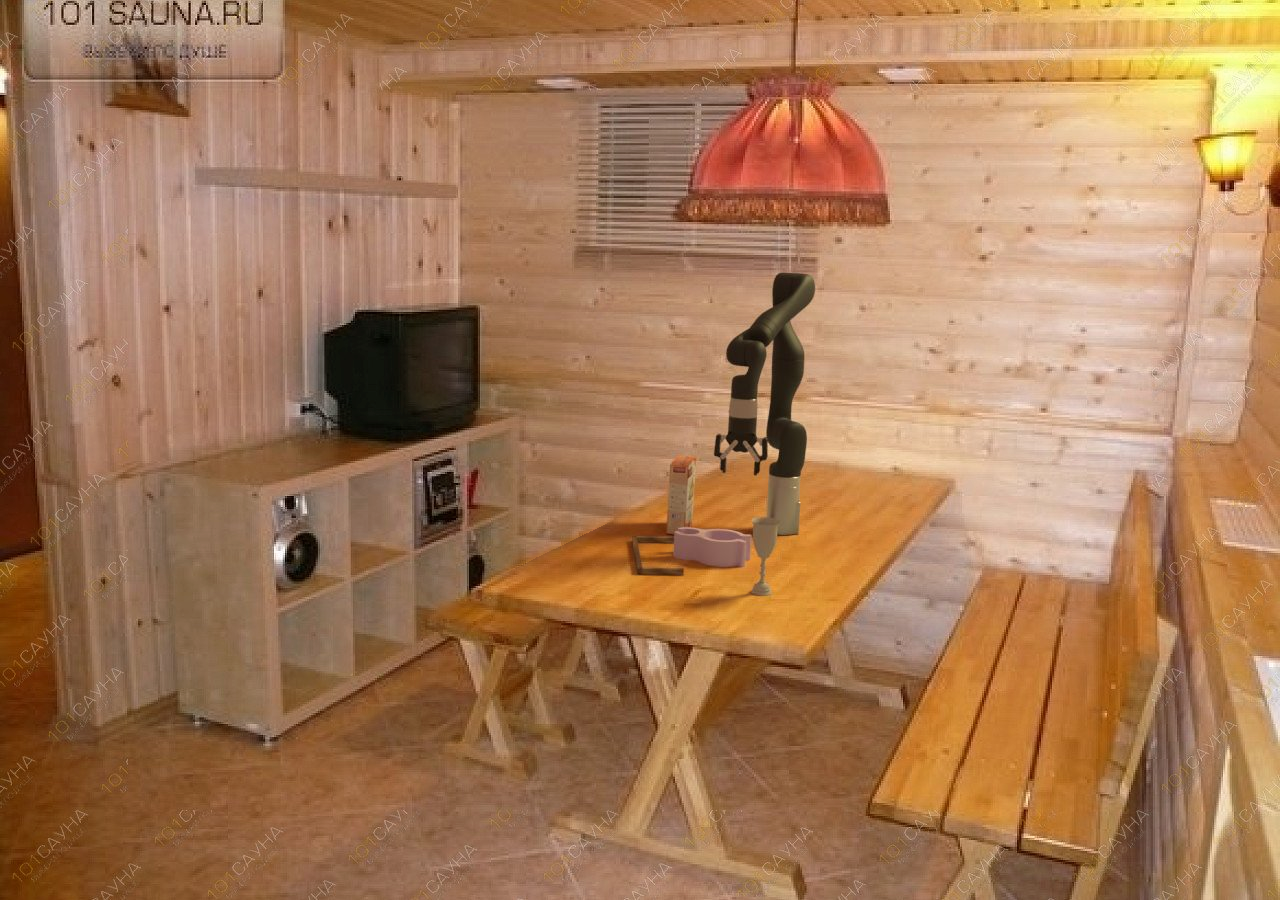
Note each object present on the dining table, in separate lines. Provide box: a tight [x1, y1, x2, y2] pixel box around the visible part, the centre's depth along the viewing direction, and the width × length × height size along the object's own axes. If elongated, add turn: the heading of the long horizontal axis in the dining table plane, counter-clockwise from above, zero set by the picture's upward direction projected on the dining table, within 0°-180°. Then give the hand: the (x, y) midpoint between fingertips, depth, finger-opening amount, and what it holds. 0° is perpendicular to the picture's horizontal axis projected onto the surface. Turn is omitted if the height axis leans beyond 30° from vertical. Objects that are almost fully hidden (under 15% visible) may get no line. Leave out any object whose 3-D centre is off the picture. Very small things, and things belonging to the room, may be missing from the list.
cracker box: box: [666, 455, 697, 536], centre depth 315 cm, size 14×6×21 cm, turn 168°
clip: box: [672, 526, 753, 568], centre depth 290 cm, size 20×12×7 cm, turn 72°
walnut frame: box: [631, 535, 685, 576], centre depth 289 cm, size 12×30×2 cm, turn 3°
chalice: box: [750, 516, 780, 597], centre depth 263 cm, size 7×7×18 cm
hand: (739, 473), depth 293 cm, fingers open, 8 cm apart
